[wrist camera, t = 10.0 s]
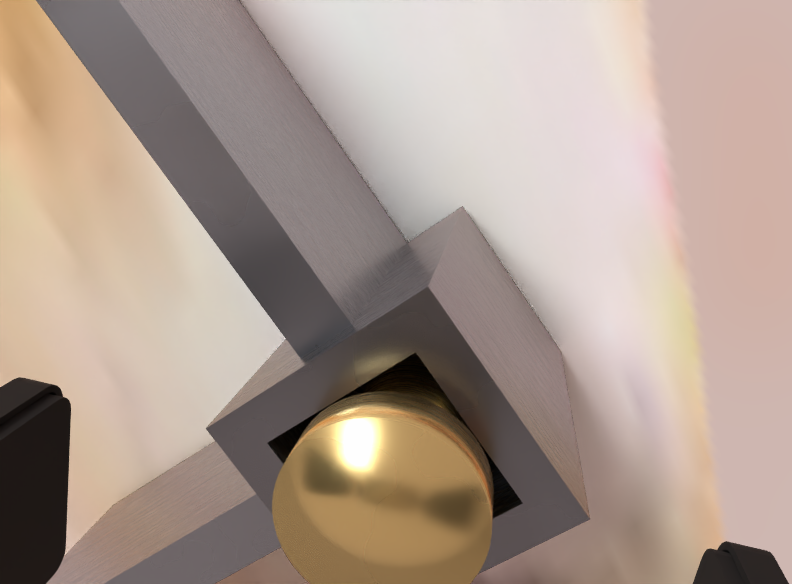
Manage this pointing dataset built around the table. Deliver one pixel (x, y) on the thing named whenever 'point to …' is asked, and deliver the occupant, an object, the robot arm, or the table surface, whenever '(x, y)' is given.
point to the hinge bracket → (308, 299)
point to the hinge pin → (387, 488)
